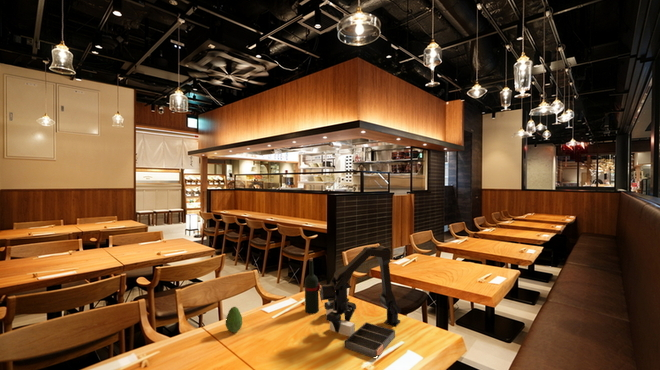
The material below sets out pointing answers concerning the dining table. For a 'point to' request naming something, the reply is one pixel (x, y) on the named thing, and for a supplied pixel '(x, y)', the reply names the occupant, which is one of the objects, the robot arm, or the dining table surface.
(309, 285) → the wine bottle
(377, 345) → the divided tray
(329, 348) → the dining table surface
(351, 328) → the blanking panel
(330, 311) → the medicine bottle
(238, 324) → the avocado
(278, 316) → the dining table surface
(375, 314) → the dining table surface
